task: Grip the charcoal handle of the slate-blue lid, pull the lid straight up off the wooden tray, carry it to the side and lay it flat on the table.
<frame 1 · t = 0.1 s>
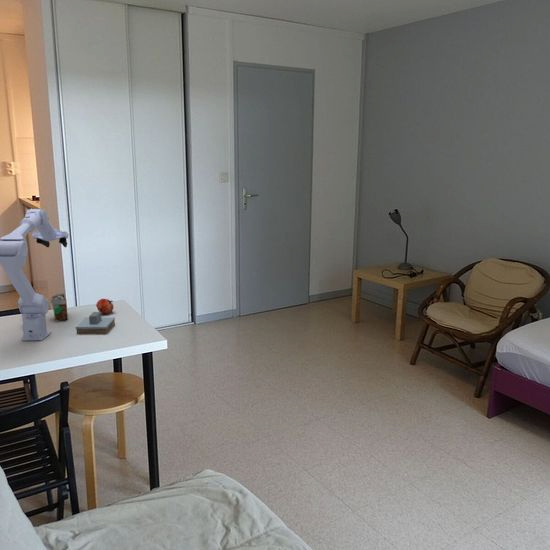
hand: (57, 245, 232), 32 cm above the table, tool tilted 50°, fingers open, 7 cm apart
wooden tray: (96, 329, 221), on the table
pomegranate: (105, 314, 242), on the table
supplement box: (32, 325, 226), on the table
food container: (59, 318, 235), on the table
lid: (95, 324, 220), point 2 cm above the table, touching wooden tray
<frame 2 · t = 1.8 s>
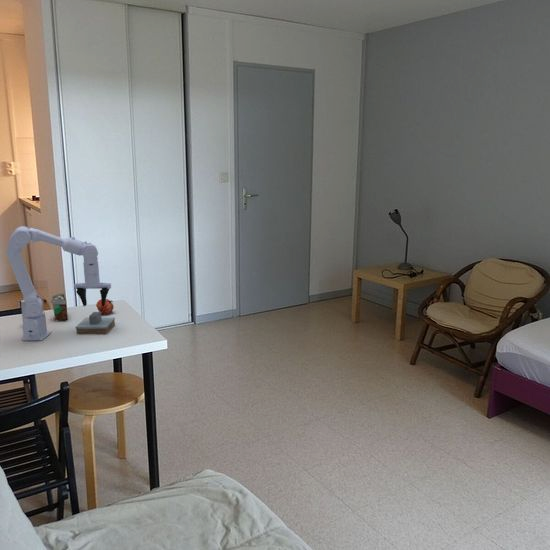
hand: (94, 305, 218), 10 cm above the table, tool pointing down, fingers open, 7 cm apart
nothing on the table moved.
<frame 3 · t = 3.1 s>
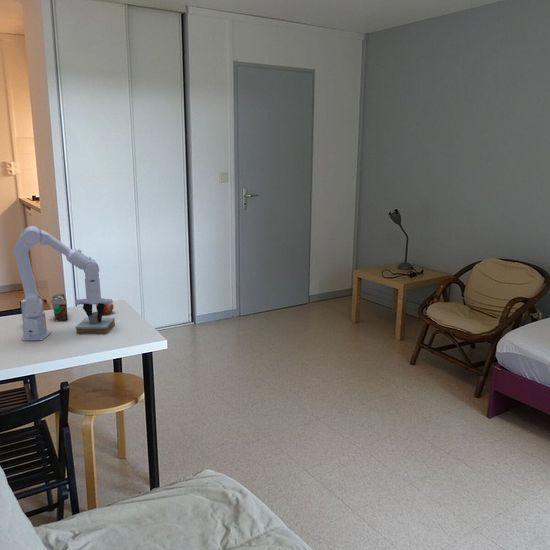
hand: (95, 321, 220), 4 cm above the table, tool pointing down, fingers closed on lid, 3 cm apart
lid: (95, 324, 220), point 2 cm above the table, touching wooden tray, gripper
everything else where it was.
when the fingers open (3 cm above the table, at t = 7.7 s): lid drops 1 cm, on the table.
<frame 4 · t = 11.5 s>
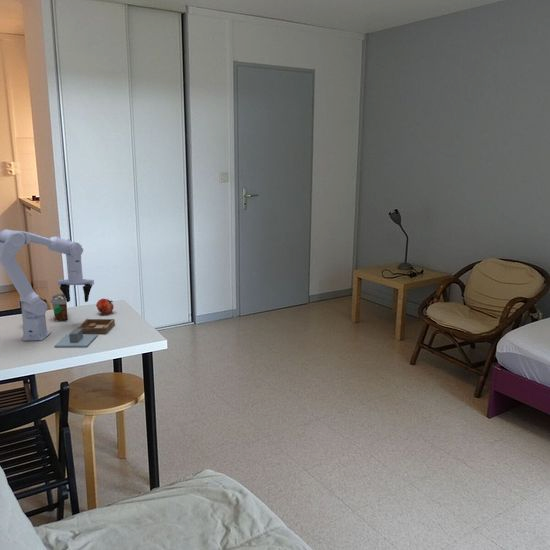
hand: (77, 301, 224), 10 cm above the table, tool pointing down, fingers open, 7 cm apart
lid: (76, 342, 207), on the table
everything else where it was.
at the end: lid inside the target area (0.5 cm from its centre), on the table; lid tilted 0°; the gripper is holding nothing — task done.
